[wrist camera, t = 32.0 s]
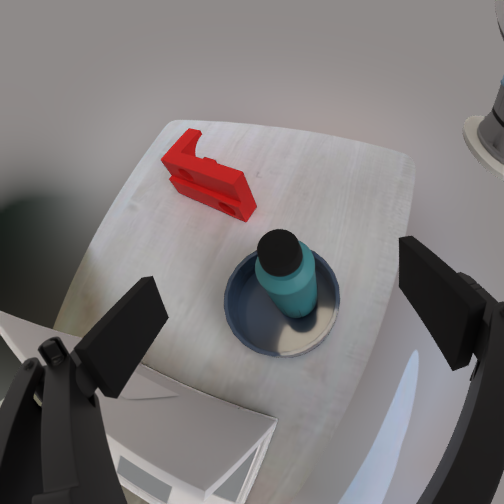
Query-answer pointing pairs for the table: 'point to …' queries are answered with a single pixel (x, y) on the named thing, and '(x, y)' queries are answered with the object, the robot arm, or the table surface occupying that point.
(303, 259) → the beverage bottle
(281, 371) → the table surface
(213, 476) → the laptop
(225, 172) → the bracket
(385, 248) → the table surface
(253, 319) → the bowl
